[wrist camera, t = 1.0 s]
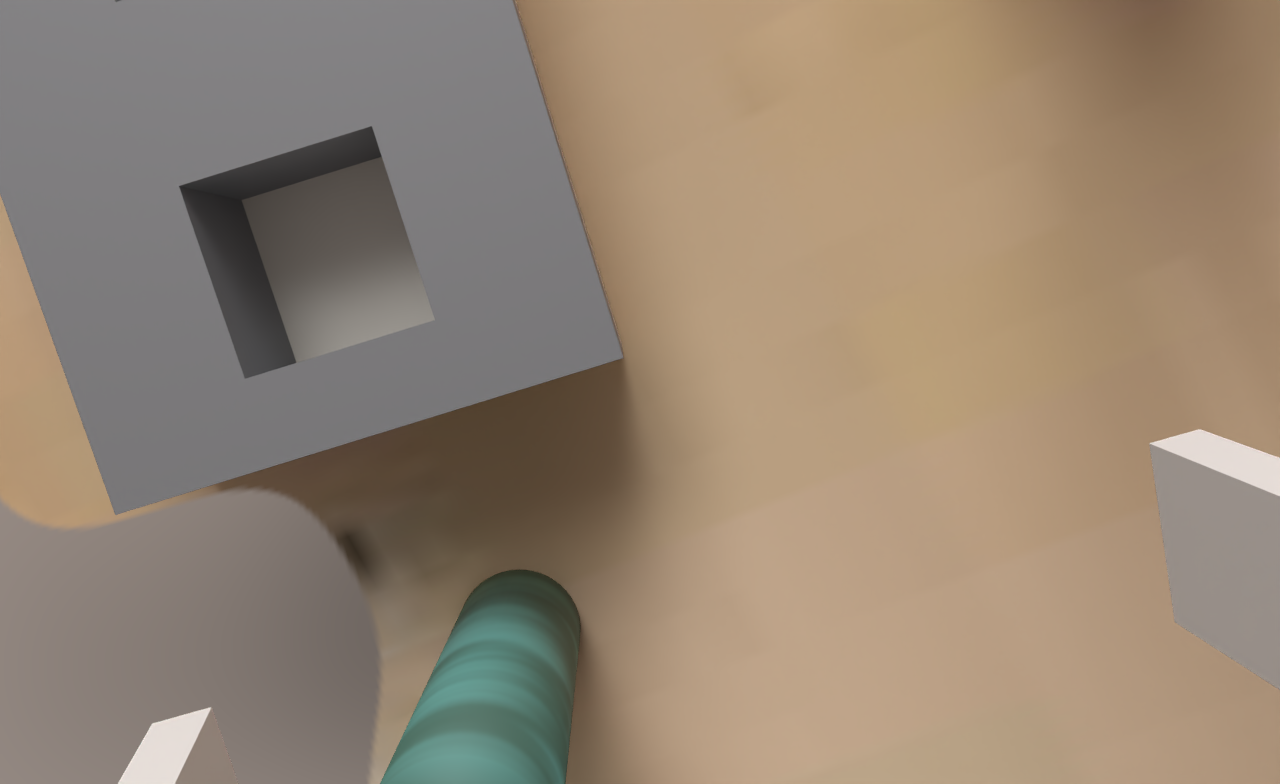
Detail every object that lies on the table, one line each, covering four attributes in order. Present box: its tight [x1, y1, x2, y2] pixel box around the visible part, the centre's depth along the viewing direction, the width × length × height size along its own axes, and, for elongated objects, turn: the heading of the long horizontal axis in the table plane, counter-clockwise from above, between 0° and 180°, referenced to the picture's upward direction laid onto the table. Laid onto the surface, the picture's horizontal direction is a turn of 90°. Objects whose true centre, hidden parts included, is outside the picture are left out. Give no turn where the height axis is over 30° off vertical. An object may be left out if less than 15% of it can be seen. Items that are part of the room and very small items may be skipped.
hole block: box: [0, 0, 623, 515], centre depth 33 cm, size 20×14×7 cm
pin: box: [380, 570, 580, 784], centre depth 31 cm, size 4×4×15 cm
